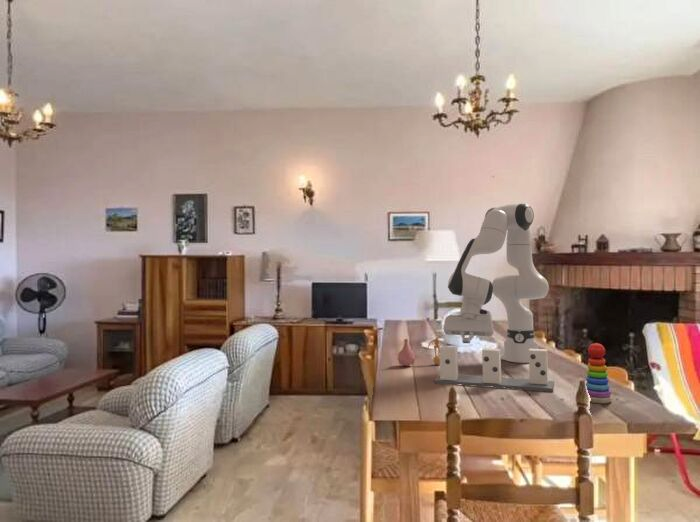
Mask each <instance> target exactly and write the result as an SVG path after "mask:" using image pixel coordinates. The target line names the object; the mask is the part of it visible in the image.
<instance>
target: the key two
mask: <svg viewBox="0 0 700 522" xmlns="http://www.w3.org/2000/svg"><path fill="white" fill-rule="evenodd" d="M501 352H502V351H501V348H485V347H484V348H483V349H482V350H481V358H482V361H481V363H482V376H483V383H496V384H500V383H501V377H502V363H501V360H502V359H501V356H502V355H501Z"/></svg>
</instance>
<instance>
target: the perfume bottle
mask: <svg viewBox="0 0 700 522" xmlns="http://www.w3.org/2000/svg"><path fill="white" fill-rule="evenodd" d="M403 341H404V343H403V347H402V349H401V350H400V351H399V352H398V354H397V355H398V356H397V360H398V364H399V365H400V366H401V365H402V366H403V367H404V366H409V367H410V366H411V365H414V363H415V359H416V356H415V353H414V351H413V350H411V348H410V346H409V343H408V338H404V339H403Z"/></svg>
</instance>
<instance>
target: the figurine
mask: <svg viewBox="0 0 700 522" xmlns="http://www.w3.org/2000/svg"><path fill="white" fill-rule="evenodd" d="M431 343H433V344H434V345H433V349H434V355H435V356H434V357H433V360H432V362H433V364H434V365H437V366H440V350H439V348H440V347H441V345H440V343H442V344H443V345H444V346H445V347H447V346H446V344H445V342H444V341H443V340H440V339H439V338H438V337H435V338H434V339H433V340H431V341H429V343H428V346H427V349H430V345H431ZM437 350H438V353H437Z"/></svg>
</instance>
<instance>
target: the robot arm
mask: <svg viewBox="0 0 700 522" xmlns="http://www.w3.org/2000/svg"><path fill="white" fill-rule="evenodd" d="M534 217H535V215H534V210H533V208H532V206H530V205H529V204H527V203H519V204H518V203H517V204H515V203H513V204H506V205H502V206H498V207H491V208H489V209H488V210H486V213H485V215H484V218H483V222H482V225H481V227H480V230H479V233H478V235H477V236H476V237H475V238H471V239H470V240H469V242H468V243H467V244H466V246H465V249H464V250H463V252H462V255H461V257H460V258H459V260H458V262H457V264H456V267H455V269H454V271H453V272H452V274H451V275H450V277H449V279H448V281H447V282H448V283H447V288H448V290H449V292H450V293H451V294H452V295H455V296H458V297H459V296H460V297H462V300H461V302H462V305H461V307H460V311H459V314H456V315H453V314H449V315H448V316H446V317H445V319H444V325H443V328H442V329H443V333H444V334H445V335H448V336H461V341H462V344H471V341H472V340H473V339H474V337H492V336H493V335H494V331H495V330H494V324H493V317H492V314H491V313H492V312H491V311H490V310H486V309H482V308H483V306H484V305H485V306H486V304H488V303H489V302H490V301H491V300H492V297H493V295H494V296H495V297H496V298H497V299H498V300H499V301H500V302H501V303H502V304H503V307H504V309H505V311H506V316H507V317H506V318H507V329H506V336H507V337H506V339H505V341H503V355H501V360H502V361H506V362H511V363H523V364H529V349H539V343H538V342H537V340H536V339H535V336H536V335H535V334H536V331H535V329H534V314H533V312H532V311H531V309H529V308H528V307H526V306H524V305H523V304H522V301H521V300H531V301H532V300H539V299H544V298H545V297H546V296H548V293H549V291H550V286H549V285H550V284H549V282H548V281H547V279H546V278H545V277H544V276H543V275H541V273H540V272H539V271H538V270H537V268H536V267H535V265H534V261H533V260H534V259H533V251H532V250H533V248H532V245H533V244H532V233H531V228H530V226H532V224H533V221H534ZM505 240H506V262H507V264H509V266H511V267H513V268H514V269H516V270H517V271H518V274H517V275H516V274H515V275H513V274H511V275H509V274H508V275H506V274H505V275H502V276H501V275H500V276H496V277H495V278H494V279H493V281H492V282H491V280H490V279H487V278H485V277H484V278H483V277H480V276H477V275H472V274H470V273H467V272H466V271H467V270H466V269H467V267H468V266H469V264H470V261H471V259H472V257H474V256H478V255H490V254H494V253H496V252H499V251H500V250H501V249H502V248H503V247H504V246H503V245H504V243H505ZM466 336H467V337H466Z"/></svg>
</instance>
